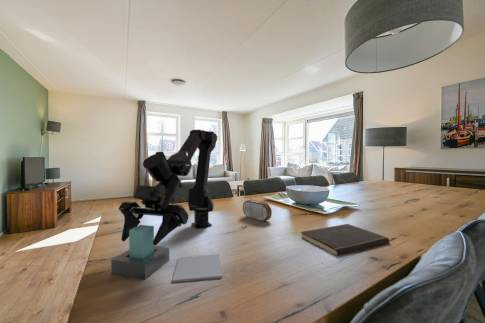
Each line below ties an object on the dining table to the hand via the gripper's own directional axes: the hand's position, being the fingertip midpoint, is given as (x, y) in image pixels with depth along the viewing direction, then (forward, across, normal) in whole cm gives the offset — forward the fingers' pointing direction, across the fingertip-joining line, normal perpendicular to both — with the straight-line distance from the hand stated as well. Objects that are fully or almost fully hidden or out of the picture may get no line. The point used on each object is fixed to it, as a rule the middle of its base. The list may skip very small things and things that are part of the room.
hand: (138, 242), depth 53 cm
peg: (+4, 0, +6) cm, 7 cm away
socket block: (+4, 0, +6) cm, 7 cm away
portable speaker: (-30, +20, +40) cm, 54 cm away
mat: (+1, +14, +8) cm, 16 cm away
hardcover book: (-19, +53, +29) cm, 63 cm away
